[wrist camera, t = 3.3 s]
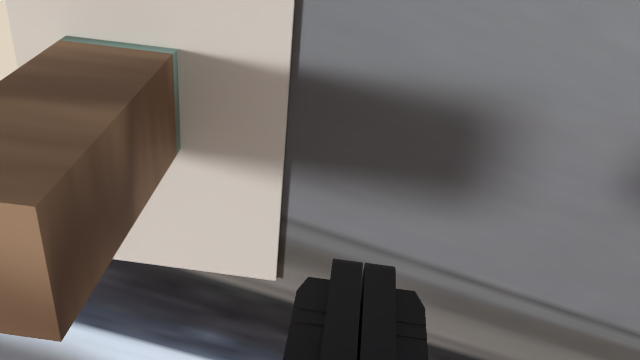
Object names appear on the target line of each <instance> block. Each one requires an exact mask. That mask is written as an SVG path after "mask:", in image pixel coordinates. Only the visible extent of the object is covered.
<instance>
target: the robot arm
mask: <svg viewBox="0 0 640 360" xmlns="http://www.w3.org/2000/svg"><path fill="white" fill-rule="evenodd" d="M362 268H363V263H362V262H355V261H347V260H340V259H333V263H332V271H331V278H330V280H327V279H320V278H313V277H308V278H307V279H306V280H305V282H304V283H303V284H302V285H301V286H300V287H299V288H298V290H297V292H296V297H295V302H294V307H293V312H292V317H291V323H290V327H289V332H288V337H287V342H286V347H285V353H284V358H283V360H428V347H427V333H426V318H425V307H424V306H423V304H422V302H421V301H420V299H419V297H418V296H417V294H416V292H415V291H409V290H402V289H396V272H395V267H393V266H385V265H378V264H371V263H365V265H364V270H363V276H362Z"/></svg>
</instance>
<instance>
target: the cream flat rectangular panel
mask: <svg viewBox="0 0 640 360" xmlns="http://www.w3.org/2000/svg"><path fill="white" fill-rule="evenodd" d="M294 5H295V0H0V81H1V80H2V79H3V78H5V77H6V76H8V75H9V74H11V73H12V72H14V71H15V70H16V69H18V68H19V67H21V66H22V65H24V64H25V63H27V62H28V61H29V60H31V59H32V58H34V57H35V56H37V55H38V54H40V53H41V52H43V51H44V50H45V49H47V48H48V47H50V46H51V45H53V44H54V43H56V42H57V41H58V40H60V39H61V38H63V37H64V36H74V37H82V38H91V39H99V40H107V41H116V42H124V43H132V44H141V45H149V46H157V47H166V48H174V49H177V60H178V87H179V114H180V141H181V149H180V151H179V152H178V154H177V156H176V157H175V159H174V160H173V162H172V164H171V165H170V167H169V168H168V170H167V172H166V173H165V175H164V177H163V178H162V180H161V181H160V183H159V185H158V186H157V188H156V189H155V191H154V193H153V194H152V196H151V197H150V199H149V201H148V202H147V204H146V206H145V207H144V209H143V210H142V212H141V214H140V215H139V217H138V218H137V220H136V222H135V223H134V225H133V227H132V228H131V230H130V231H129V233H128V235H127V236H126V238H125V239H124V241H123V243H122V244H121V246H120V248H119V249H118V251H117V252H116V254H115V256H114V257H113V259H117V260H124V261H132V262H139V263H147V264H154V265H162V266H169V267H177V268H184V269H191V270H199V271H206V272H214V273H221V274H229V275H236V276H244V277H251V278H259V279H266V280H274V281H276V276H277V261H278V246H279V231H280V216H281V201H282V186H283V171H284V156H285V141H286V126H287V110H288V95H289V80H290V65H291V50H292V35H293V20H294Z"/></svg>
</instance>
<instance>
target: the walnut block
mask: <svg viewBox="0 0 640 360" xmlns="http://www.w3.org/2000/svg"><path fill="white" fill-rule="evenodd" d="M180 149H181V141H180V114H179V87H178V60H177V49H174V48H166V47H157V46H149V45H141V44H132V43H124V42H116V41H107V40H99V39H91V38H82V37H74V36H64V37H63V38H61V39H60V40H58V41H57V42H56V43H54V44H53V45H51V46H50V47H48V48H47V49H45V50H44V51H43V52H41V53H40V54H38V55H37V56H35V57H34V58H32V59H31V60H29V61H28V62H27V63H25V64H24V65H22V66H21V67H19V68H18V69H16V70H15V71H14V72H12V73H11V74H9V75H8V76H6V77H5V78H3V79H2V80H1V81H0V333H2V334H10V335H17V336H24V337H31V338H38V339H46V340H53V341H60V342H61V341H62V340H63V338H64V336H65V335H66V333H67V331H68V330H69V328H70V327H71V325H72V323H73V322H74V320H75V319H76V317H77V315H78V314H79V312H80V310H81V309H82V307H83V306H84V304H85V302H86V301H87V299H88V298H89V296H90V294H91V293H92V291H93V289H94V288H95V286H96V285H97V283H98V281H99V280H100V278H101V277H102V275H103V273H104V272H105V270H106V269H107V267H108V265H109V264H110V262H111V260H112V259H113V257H114V256H115V254H116V252H117V251H118V249H119V248H120V246H121V244H122V243H123V241H124V239H125V238H126V236H127V235H128V233H129V231H130V230H131V228H132V227H133V225H134V223H135V222H136V220H137V218H138V217H139V215H140V214H141V212H142V210H143V209H144V207H145V206H146V204H147V202H148V201H149V199H150V197H151V196H152V194H153V193H154V191H155V189H156V188H157V186H158V185H159V183H160V181H161V180H162V178H163V177H164V175H165V173H166V172H167V170H168V168H169V167H170V165H171V164H172V162H173V160H174V159H175V157H176V156H177V154H178V152H179V151H180Z"/></svg>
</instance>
